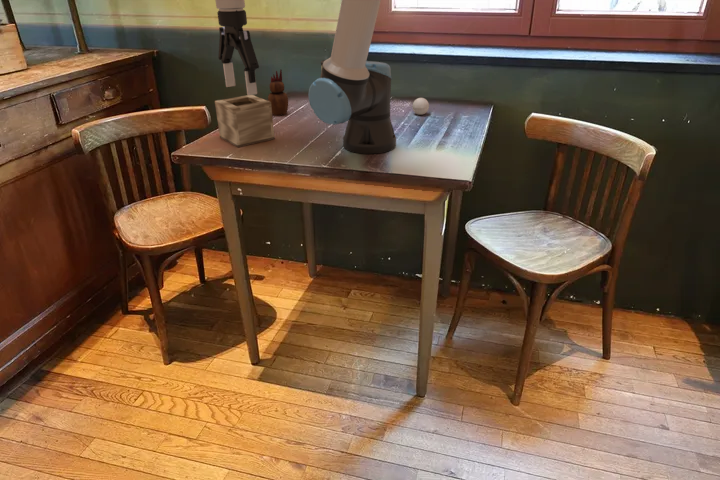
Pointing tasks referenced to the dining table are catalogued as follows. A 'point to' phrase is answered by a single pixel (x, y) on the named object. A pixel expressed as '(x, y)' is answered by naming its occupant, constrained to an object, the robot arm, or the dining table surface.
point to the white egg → (420, 106)
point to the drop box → (245, 120)
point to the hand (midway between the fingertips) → (241, 90)
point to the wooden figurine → (278, 95)
